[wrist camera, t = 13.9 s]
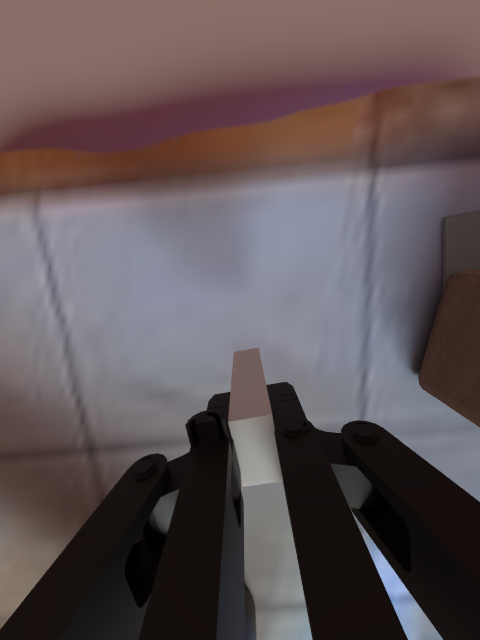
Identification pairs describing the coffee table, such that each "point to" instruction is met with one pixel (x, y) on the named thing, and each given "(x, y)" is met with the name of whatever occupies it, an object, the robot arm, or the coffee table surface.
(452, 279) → the block
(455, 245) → the mat
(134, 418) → the coffee table surface
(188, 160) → the coffee table surface
